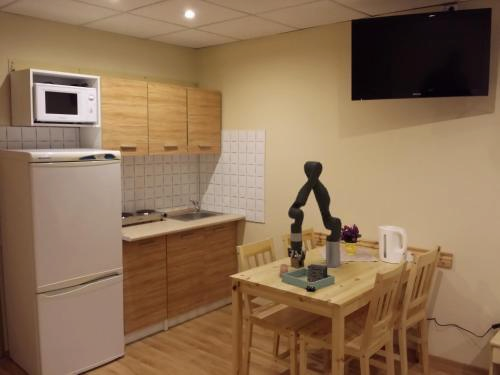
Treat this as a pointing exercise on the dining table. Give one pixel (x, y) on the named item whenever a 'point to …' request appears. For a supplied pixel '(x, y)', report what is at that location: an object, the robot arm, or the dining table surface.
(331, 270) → the dining table surface
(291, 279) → the teal shallow rectangular tray
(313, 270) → the small box
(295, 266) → the block
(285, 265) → the jar
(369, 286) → the dining table surface
